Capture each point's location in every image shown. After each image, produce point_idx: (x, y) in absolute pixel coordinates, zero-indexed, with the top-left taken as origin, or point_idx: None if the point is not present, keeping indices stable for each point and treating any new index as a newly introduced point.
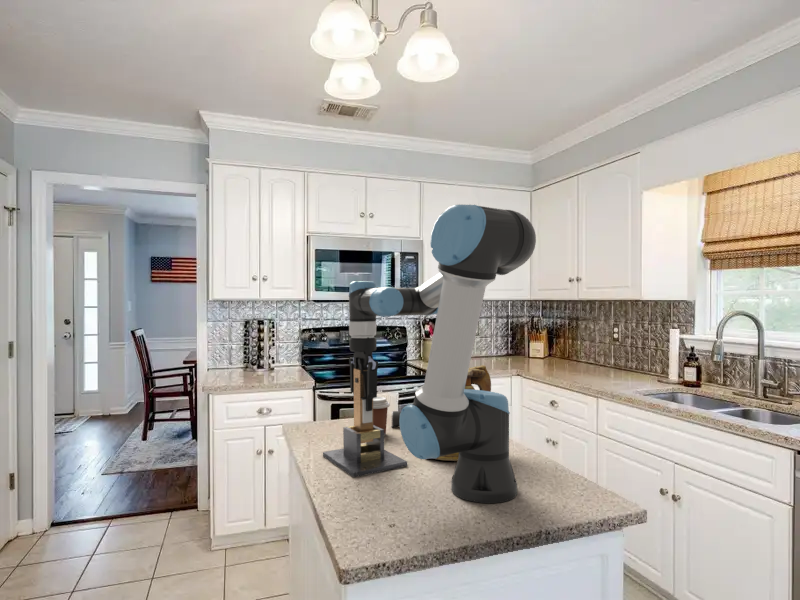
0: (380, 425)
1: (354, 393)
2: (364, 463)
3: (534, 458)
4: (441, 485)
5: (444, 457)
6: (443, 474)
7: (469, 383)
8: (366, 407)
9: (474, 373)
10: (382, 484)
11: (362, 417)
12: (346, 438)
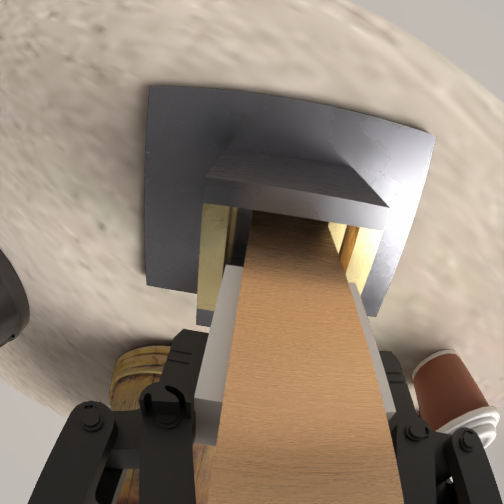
0: (423, 391)
1: (372, 432)
2: (209, 169)
3: None
4: (17, 247)
5: (124, 357)
6: (64, 295)
7: None
8: (190, 351)
9: None
10: (65, 135)
11: (237, 287)
12: (338, 182)
